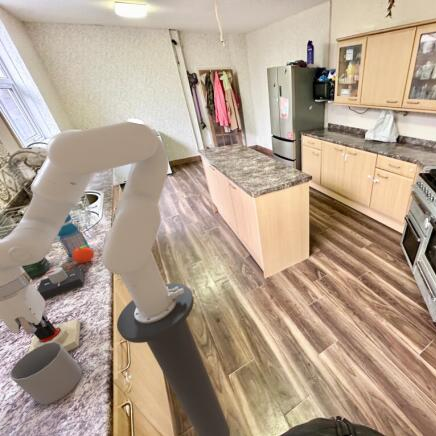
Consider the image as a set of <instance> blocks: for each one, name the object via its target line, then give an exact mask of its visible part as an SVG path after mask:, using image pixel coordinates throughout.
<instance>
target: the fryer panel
mask: <svg viewBox="0 0 436 436" xmlns="http://www.w3.org/2000/svg"><path fill="white" fill-rule="evenodd" d="M65 273H66V274H67V276H68V277H67V279H65V280H64V281H62V282H60V283H56V284H53V283H52V282H51V280H50V279H49V278H48V277H47V278H43V279H41V280H40V282H39V285H38V287H37V290H38V292H39V293H40V294H41V296H42V297H43V299H44V300H46V299H49V298H52V297H55V296H57V295H60V294H62V293H66V292H68V291H71V290H73V289H76V288H79V287H81V286H84V284H85V273H86V272H85V270H84V269H83V268H82V266H80V267H77V268H73V269H71V270H67V271H65Z"/></svg>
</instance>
